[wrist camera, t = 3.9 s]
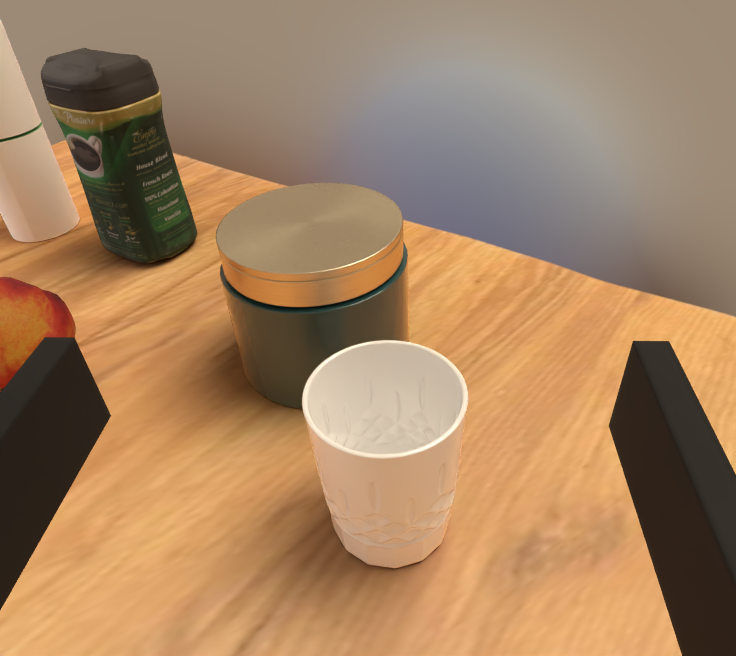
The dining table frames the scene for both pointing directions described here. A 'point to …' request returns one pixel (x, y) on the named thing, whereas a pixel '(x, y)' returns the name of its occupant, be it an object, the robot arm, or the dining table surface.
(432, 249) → the dining table surface
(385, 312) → the jar
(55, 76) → the coffee jar
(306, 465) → the dining table surface
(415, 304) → the dining table surface
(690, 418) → the robot arm
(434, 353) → the white cup
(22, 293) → the fruit
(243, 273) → the jar lid
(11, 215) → the cylindrical container
